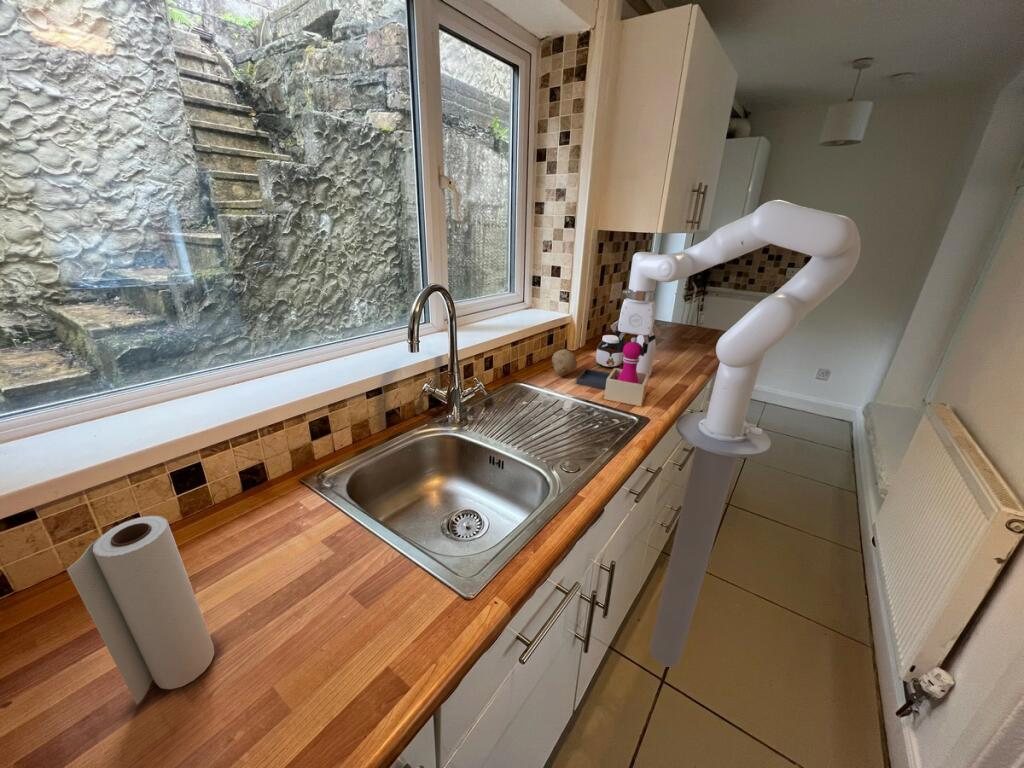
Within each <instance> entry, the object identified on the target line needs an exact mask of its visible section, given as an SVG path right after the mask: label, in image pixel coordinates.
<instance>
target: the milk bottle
mask: <svg viewBox="0 0 1024 768" xmlns="http://www.w3.org/2000/svg"><path fill="white" fill-rule="evenodd" d="M653 334H654V330H653V331H652V333H651V334H650V335H649V337H650V336H652V335H653ZM635 338H636V339H637V341H636V342H637V343H639V344H640V345H641V346H643V343H644V337H643V335H637V337H635ZM656 347H657V345H656V338H655V339H654V340H653V341H651V342H650V343H649V344H648V350H647V353H645V354H644V356H641V355H640V356H639V358H640V359H639V363H637V368H636V370H637V372H641V373H647V374H650V375H649V377H650V376H651V375H652V372H653V365H654V360H655V354H656Z"/></svg>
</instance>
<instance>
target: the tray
mask: <svg viewBox="0 0 1024 768" xmlns="http://www.w3.org/2000/svg"><path fill="white" fill-rule="evenodd" d="M610 373H611V372H606V371H600V370H594V369H589V368H585V369H584V370H583V371H582V372H581V373H580V375H578V376H577V378H576V384H577V385H581V386H585V387H586V386H587V387H593V388H597V389H603V390H605V388H606V380H607V378H608V376H609V375H610Z"/></svg>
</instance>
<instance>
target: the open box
mask: <svg viewBox="0 0 1024 768" xmlns="http://www.w3.org/2000/svg"><path fill="white" fill-rule="evenodd" d="M622 370H623V368H618V367H617V368H614V369H612V370H611V372H609V373H610V375H609V376H608V378H607V380H606V388H605V389H604V397H603V400H608V401H611V402H612V401H613V402H617V403H622V404H626V405H632V406H637V407H642V405H643V402H644V400H645V398H646V395H647V393H648V386H649V381H650V376H651V375H650V374H647V373H641V372H637V376H638V379H639V384H636V383H631V382H625V381H620V380H617V378H618V376H619V375H620V373H621V372H622ZM649 375H650V376H649Z"/></svg>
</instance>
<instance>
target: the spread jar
mask: <svg viewBox="0 0 1024 768" xmlns="http://www.w3.org/2000/svg"><path fill="white" fill-rule="evenodd" d="M618 345H619V339H618V337H617V336H616V335H615V334H614V335H613V334H605V335H602V339H601V341H600V342H599V343H598V345H597V347H596V353H595V362H596V364H597V365H598V366H599V367H600V368H603V369H608V370H613V369H614V368H618V367H619V366H621V364H624V361H623V356H625V355H624V354H623V352H621V353H619V352H620V349H618Z"/></svg>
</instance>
